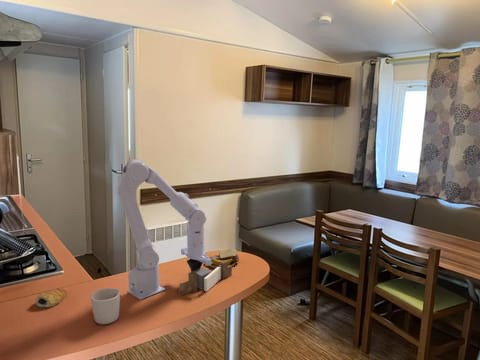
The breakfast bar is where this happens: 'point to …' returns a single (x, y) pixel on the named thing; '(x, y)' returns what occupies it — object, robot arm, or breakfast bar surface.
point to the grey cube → (201, 276)
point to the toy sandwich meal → (224, 258)
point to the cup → (105, 305)
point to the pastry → (51, 297)
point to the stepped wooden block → (192, 278)
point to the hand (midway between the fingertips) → (195, 278)
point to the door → (212, 278)
